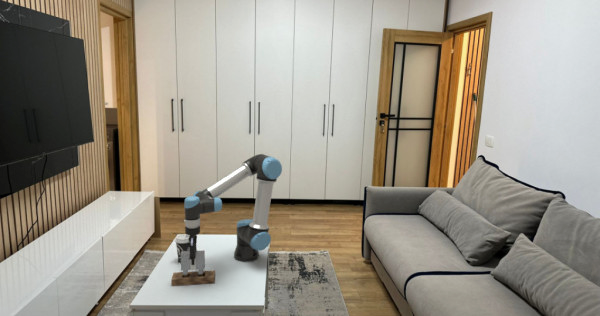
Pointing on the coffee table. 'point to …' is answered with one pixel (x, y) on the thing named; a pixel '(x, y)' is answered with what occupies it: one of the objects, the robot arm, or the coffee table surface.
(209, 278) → the rail
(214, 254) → the coffee table surface
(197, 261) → the grey flat block
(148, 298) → the coffee table surface
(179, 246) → the coffee cup
